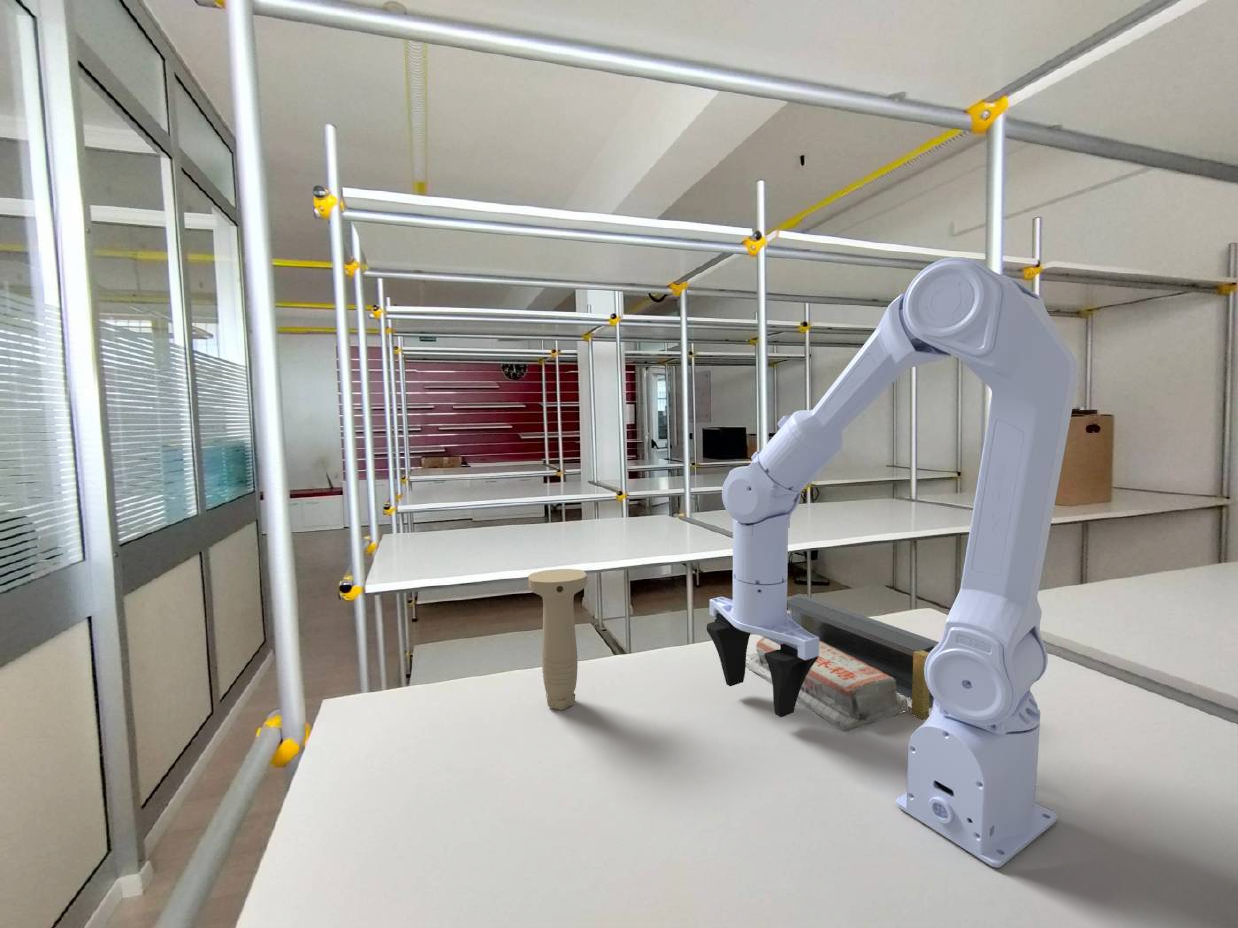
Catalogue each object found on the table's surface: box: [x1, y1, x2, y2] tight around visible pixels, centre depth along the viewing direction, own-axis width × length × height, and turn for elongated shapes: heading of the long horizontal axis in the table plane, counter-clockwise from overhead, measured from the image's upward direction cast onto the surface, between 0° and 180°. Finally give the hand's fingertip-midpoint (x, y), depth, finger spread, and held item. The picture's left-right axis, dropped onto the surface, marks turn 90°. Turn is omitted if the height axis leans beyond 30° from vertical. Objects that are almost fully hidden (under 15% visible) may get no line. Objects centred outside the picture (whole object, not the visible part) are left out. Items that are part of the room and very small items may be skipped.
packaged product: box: [745, 637, 909, 732], centre depth 68 cm, size 18×5×10 cm
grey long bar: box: [787, 593, 940, 720], centre depth 70 cm, size 5×21×7 cm, turn 31°
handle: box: [527, 568, 588, 711], centre depth 64 cm, size 5×6×15 cm
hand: (758, 697), depth 63 cm, fingers open, 7 cm apart
